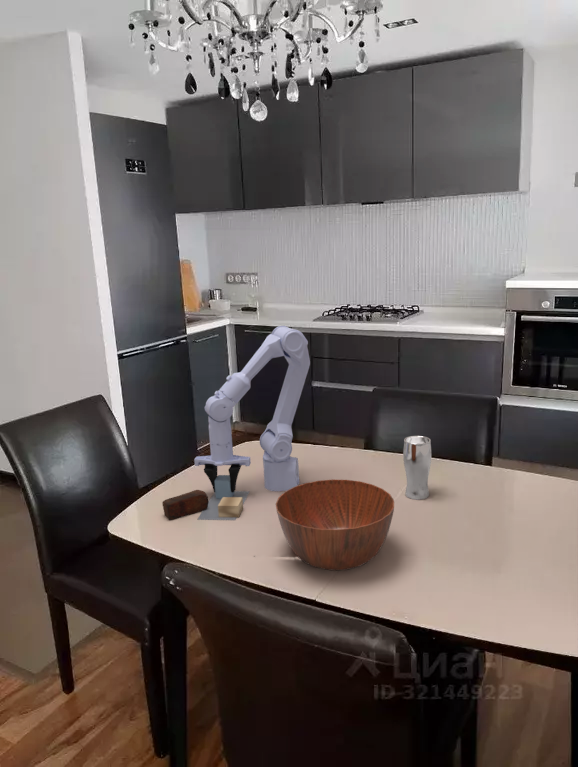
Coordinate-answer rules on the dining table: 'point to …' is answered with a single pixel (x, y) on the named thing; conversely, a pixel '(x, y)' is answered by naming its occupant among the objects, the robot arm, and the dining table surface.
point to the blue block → (223, 486)
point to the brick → (185, 504)
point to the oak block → (230, 507)
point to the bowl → (335, 522)
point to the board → (212, 508)
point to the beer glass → (417, 466)
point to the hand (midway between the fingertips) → (224, 490)
